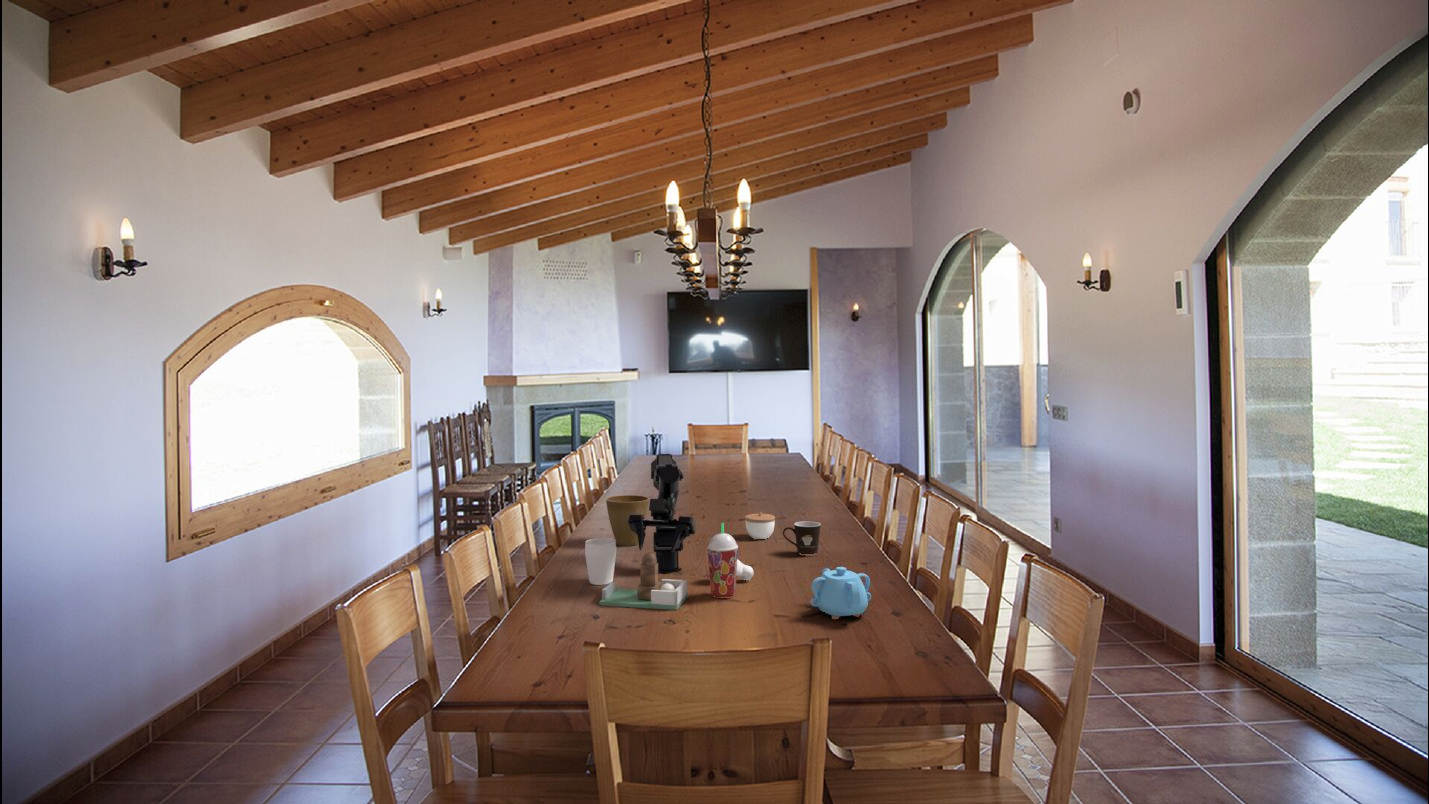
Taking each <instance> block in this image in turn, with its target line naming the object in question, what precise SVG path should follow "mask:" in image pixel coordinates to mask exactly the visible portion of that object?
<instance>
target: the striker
mask: <svg viewBox="0 0 1429 804" xmlns="http://www.w3.org/2000/svg"><path fill="white" fill-rule="evenodd" d="M656 562H657V559H656V554H654V553H652V552H646V553H645V554H644V555H642V557H641V564H640V565H639V567H640V569H639V570H640V571H639V572H640V583H639V585H637V587H636V590H637V599H645V600H651V590H660V588H661V586H662V582H661V581H659V571H658V563H656Z"/></svg>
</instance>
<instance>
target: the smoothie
mask: <svg viewBox="0 0 1429 804" xmlns="http://www.w3.org/2000/svg"><path fill="white" fill-rule="evenodd" d="M738 549H739V545H738V544H737V541H736V540H735V538H734V537H733V536H732V535H730V534H728V533H725V523H724V522H721V532H720V533H717V534H715V535H714V536H712V537H711V539H710V540H709V544H708V545H707V557H708V571H709V584H710V586H709V587H710V593H712V597H714V596H715V597H731V596H733V594H734V595H735V592H736V589H737V588H736V586H737V577H736V572H737V559H738V553H739V551H738ZM715 597H714V598H715ZM733 597H734V596H733ZM731 598H732V597H731Z"/></svg>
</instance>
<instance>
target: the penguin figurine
mask: <svg viewBox="0 0 1429 804" xmlns="http://www.w3.org/2000/svg"><path fill="white" fill-rule="evenodd" d="M737 577H741V578H742V579H743V581H744V580H749V581H750V580H751V578H752V577H754V569H753V568H752V566H750V565H747V564H744V563H742V562H741V561H740V560H739V559H738V558H737V572H736V578H737Z"/></svg>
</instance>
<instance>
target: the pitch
mask: <svg viewBox="0 0 1429 804" xmlns="http://www.w3.org/2000/svg"><path fill="white" fill-rule="evenodd" d="M660 582H662V585H663V584H666V583H669V584H672V585H673V586H674V588H675V591H666V590H651V600H645V599H637V589H632V588H616V581H612V582H611V583H609V584H606V586H605V587H603V589H602V590H601V600H599V606H606V607H608V606H609V607H622V608H639V609H640V608H641V609H652V610H667V611H668V610H670V611H677V610H678V609H679V608H680V606H681V605H682V604H683V603H684V602H685V601H686V599H687V598H688V597H689V593H688V580H686V579H685V580H684V579H668V578H662V579H661V581H660Z"/></svg>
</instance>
